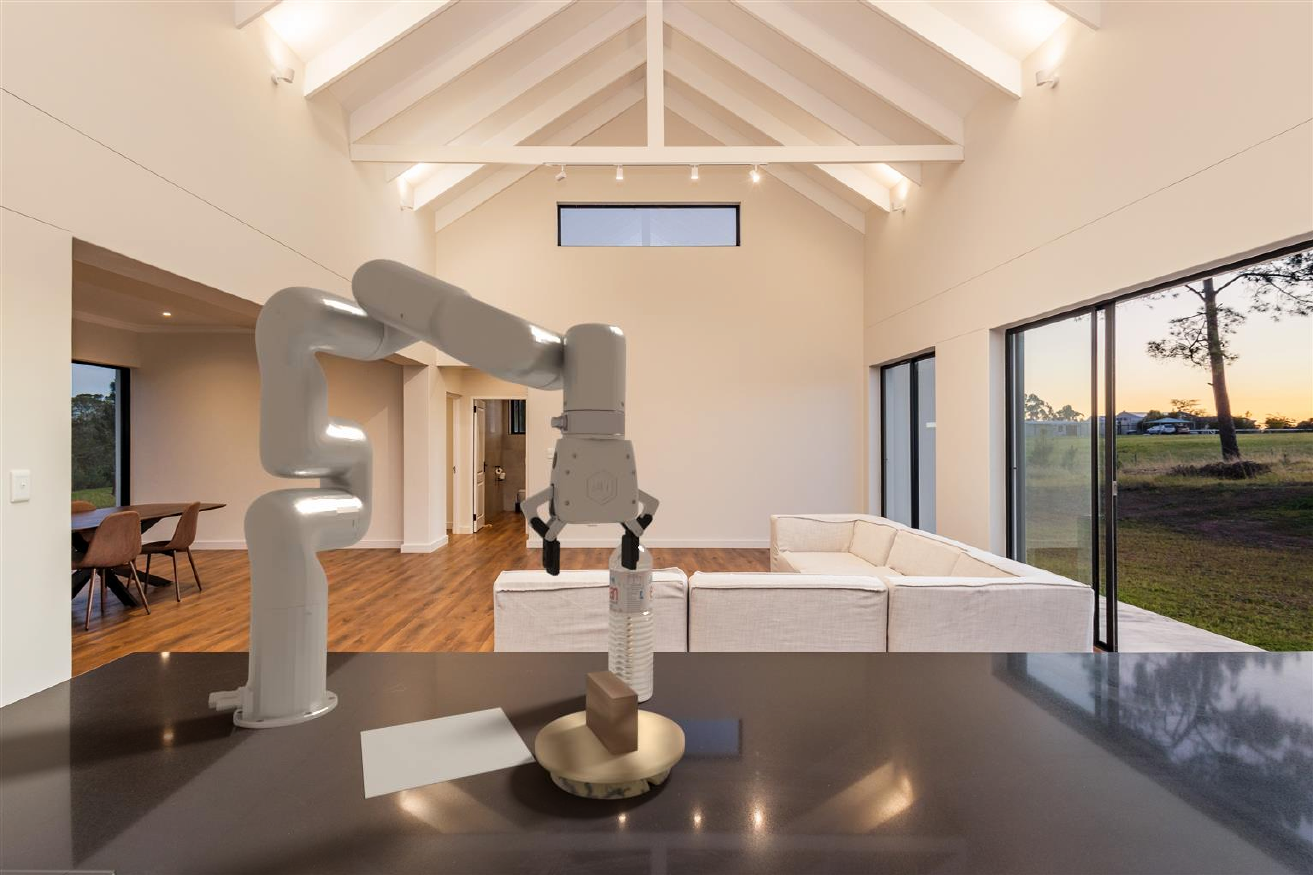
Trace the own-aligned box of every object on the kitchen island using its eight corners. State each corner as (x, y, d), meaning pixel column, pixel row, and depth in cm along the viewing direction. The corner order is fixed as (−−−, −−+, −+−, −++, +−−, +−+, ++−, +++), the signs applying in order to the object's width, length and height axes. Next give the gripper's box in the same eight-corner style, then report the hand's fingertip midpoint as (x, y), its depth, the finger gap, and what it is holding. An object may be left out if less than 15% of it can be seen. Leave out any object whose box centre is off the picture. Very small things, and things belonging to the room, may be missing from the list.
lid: (558, 797, 60) (558, 723, 60) (520, 729, 75) (521, 671, 76) (712, 763, 67) (711, 697, 67) (648, 707, 82) (648, 654, 83)
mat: (365, 803, 64) (365, 798, 64) (360, 736, 80) (360, 731, 80) (535, 765, 72) (535, 760, 72) (500, 711, 88) (500, 707, 88)
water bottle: (647, 706, 90) (648, 533, 91) (602, 703, 91) (603, 532, 93) (657, 690, 97) (657, 529, 98) (614, 686, 98) (615, 528, 99)
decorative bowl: (584, 740, 81) (516, 795, 67) (584, 711, 81) (516, 760, 67) (693, 762, 75) (643, 828, 61) (693, 731, 75) (644, 789, 61)
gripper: (531, 423, 68) (528, 582, 67) (671, 429, 75) (670, 571, 75) (515, 427, 74) (512, 571, 74) (645, 431, 82) (643, 562, 81)
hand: (591, 571), depth 74 cm, fingers open, 9 cm apart
